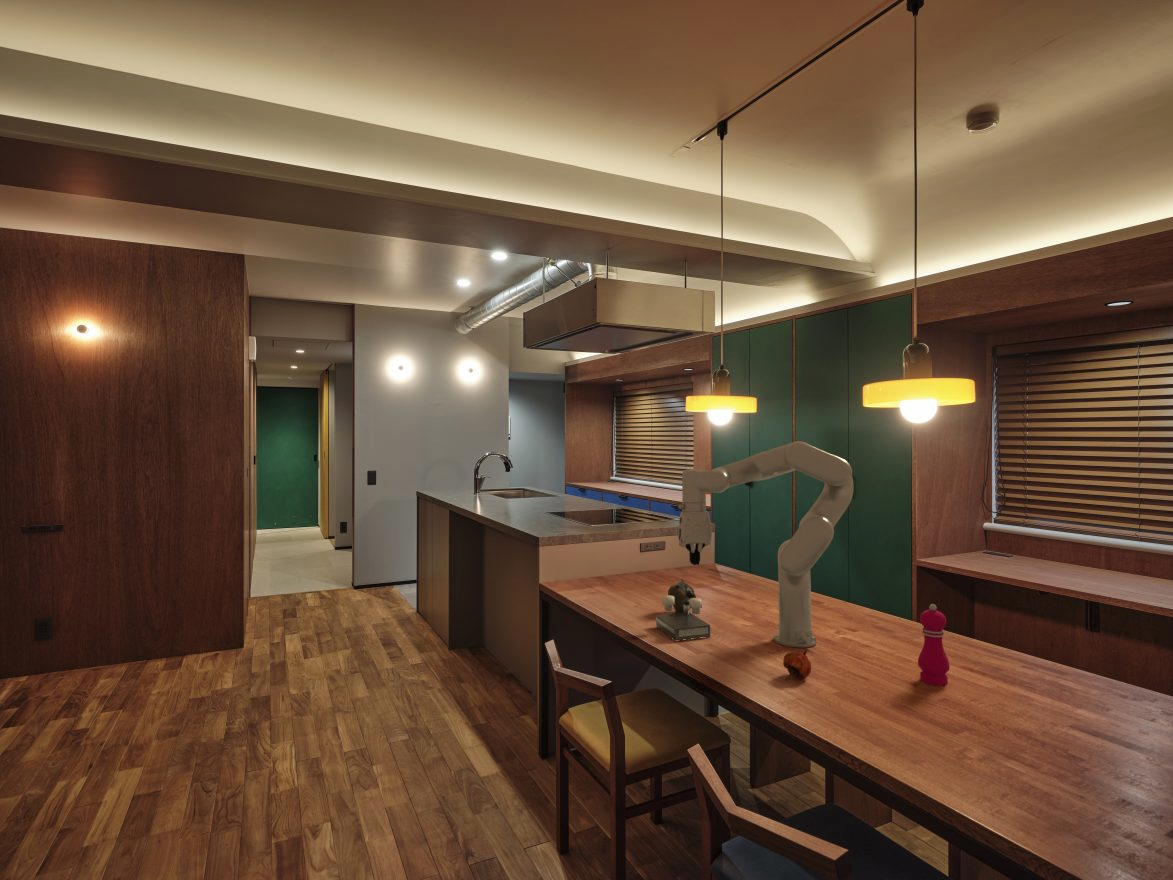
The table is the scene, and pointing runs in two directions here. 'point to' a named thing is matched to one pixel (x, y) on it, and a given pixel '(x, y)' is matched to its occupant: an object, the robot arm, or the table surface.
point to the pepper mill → (933, 648)
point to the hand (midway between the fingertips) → (694, 564)
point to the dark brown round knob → (686, 606)
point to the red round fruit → (797, 664)
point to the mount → (682, 626)
